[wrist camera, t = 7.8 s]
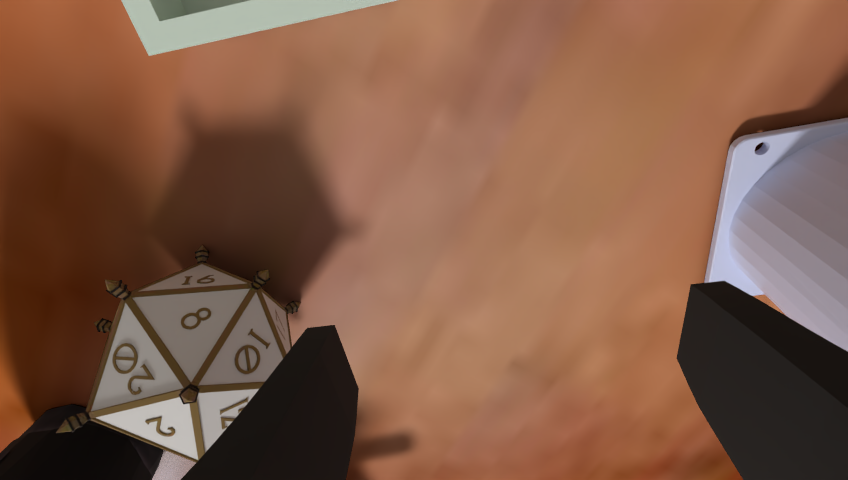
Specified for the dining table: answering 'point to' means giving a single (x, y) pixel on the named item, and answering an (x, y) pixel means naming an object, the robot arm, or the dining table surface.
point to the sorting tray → (222, 18)
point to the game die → (186, 356)
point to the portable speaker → (77, 452)
